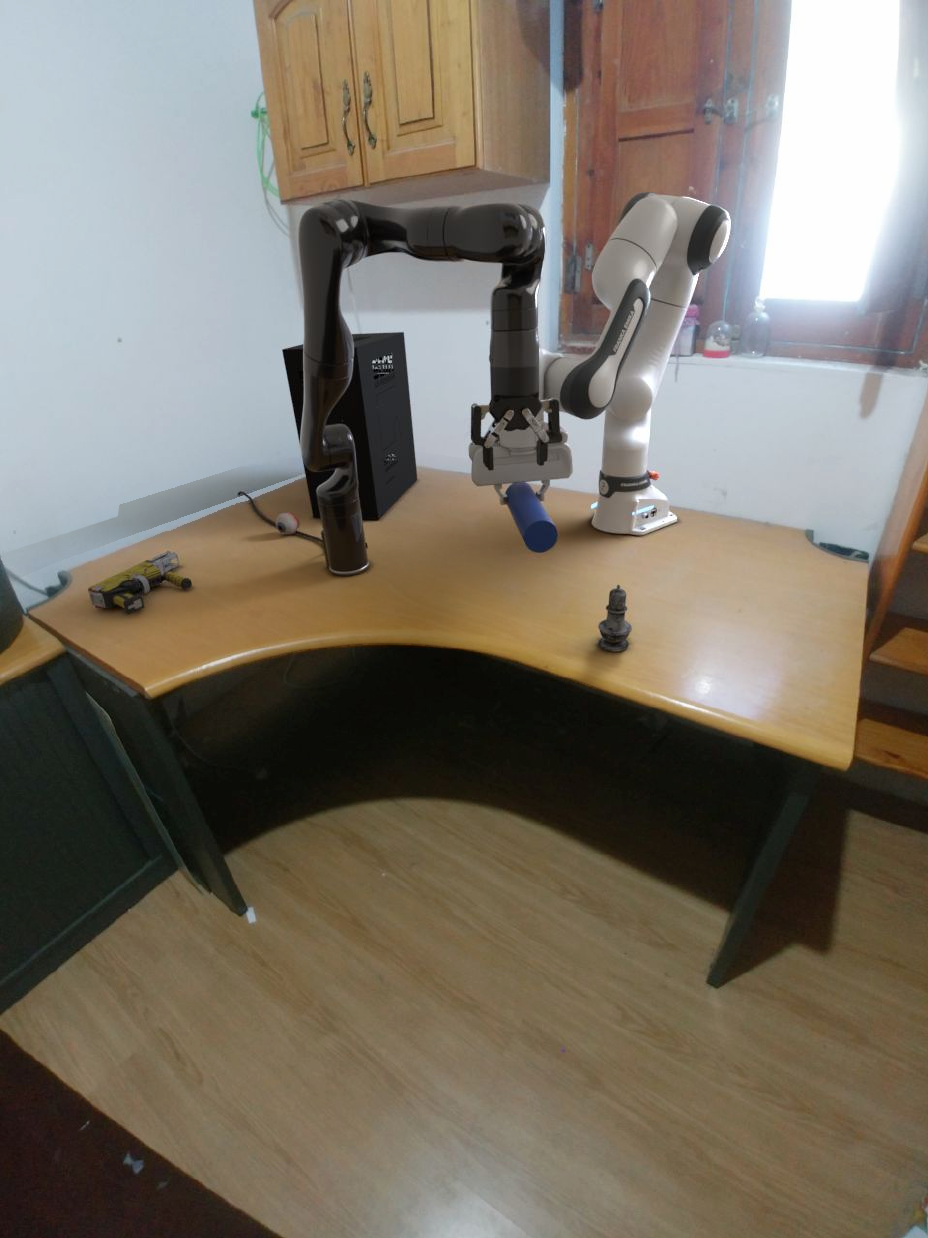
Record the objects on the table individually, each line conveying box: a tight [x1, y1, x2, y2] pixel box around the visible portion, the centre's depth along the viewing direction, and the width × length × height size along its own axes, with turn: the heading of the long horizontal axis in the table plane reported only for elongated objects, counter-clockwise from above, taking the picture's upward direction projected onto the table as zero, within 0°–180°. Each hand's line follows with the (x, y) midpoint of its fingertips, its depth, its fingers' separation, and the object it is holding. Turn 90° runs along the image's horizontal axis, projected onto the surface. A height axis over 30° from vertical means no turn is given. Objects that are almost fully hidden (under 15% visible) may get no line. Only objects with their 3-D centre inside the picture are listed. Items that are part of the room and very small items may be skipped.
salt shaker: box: [597, 584, 633, 653], centre depth 106 cm, size 6×6×12 cm
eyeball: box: [275, 511, 300, 536], centre depth 163 cm, size 6×6×6 cm
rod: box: [504, 482, 559, 554], centre depth 117 cm, size 23×6×6 cm, turn 5°
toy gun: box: [87, 550, 193, 615], centre depth 138 cm, size 5×24×15 cm
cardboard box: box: [281, 331, 418, 521], centre depth 178 cm, size 38×20×45 cm, turn 167°
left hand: (515, 466), depth 100 cm, fingers open, 8 cm apart
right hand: (522, 502), depth 124 cm, fingers closed on rod, 6 cm apart
